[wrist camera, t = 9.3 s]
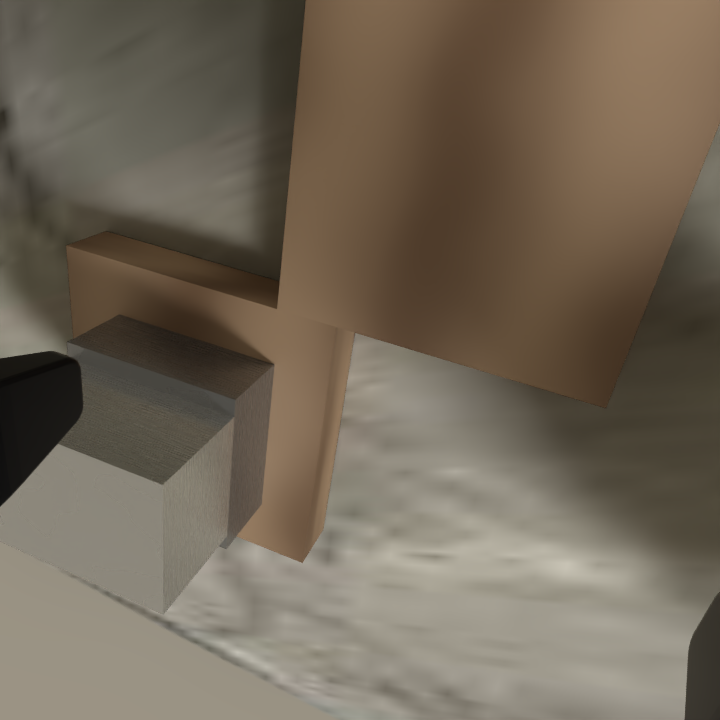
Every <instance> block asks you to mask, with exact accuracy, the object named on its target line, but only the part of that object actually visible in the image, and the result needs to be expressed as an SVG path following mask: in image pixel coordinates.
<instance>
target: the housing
mask: <svg viewBox="0 0 720 720" xmlns="http://www.w3.org/2000/svg"><path fill="white" fill-rule="evenodd" d="M67 350H68V356H70V357H72V358H74V359H76V360H77V361H78V363H79V364H80V367H81V375H82V389H83V403H84V405H83V411H82V414H81V416H80V418H79V420H78V421H77V423H76V424H75V425H74V426H73V427H72V428H71V429H70V431H69V432H68V433H67V434H66V435H65V436H64V437H63V439H62V440H61V441H60V442H59V443H58V444H57V445H56V446H55V448H54V449H53V450H52V451H51V452H50V453H49V454H48V456H47V457H46V458H45V459H44V460H43V461H42V462H41V464H40V465H39V466H38V467H37V468H36V469H35V470H34V472H33V473H32V474H31V475H30V476H29V477H28V478H27V479H26V481H25V482H24V483H23V484H22V485H21V486H20V487H19V488H18V489H17V491H16V492H15V493H14V494H13V495H12V496H11V497H10V498H9V499H8V500H7V501H6V502H5V503H4V504H3V505H2V506H1V507H0V542H2V543H4V544H7V545H9V546H11V547H13V548H16V549H18V550H20V551H22V552H24V553H27V554H29V555H31V556H33V557H36V558H38V559H40V560H42V561H45V562H47V563H49V564H51V565H53V566H56V567H58V568H60V569H62V570H65V571H67V572H69V573H71V574H74V575H76V576H78V577H80V578H82V579H85V580H87V581H89V582H91V583H94V584H96V585H98V586H100V587H103V588H105V589H107V590H109V591H111V592H114V593H116V594H118V595H120V596H123V597H125V598H127V599H129V600H132V601H134V602H136V603H138V604H140V605H143V606H145V607H147V608H149V609H152V610H154V611H156V612H158V613H161V614H163V615H164V613H165V612H166V611H167V610H168V608H169V607H170V606H171V605H172V603H173V602H174V601H175V600H176V598H177V597H178V596H179V595H180V594H181V592H182V591H183V590H184V589H185V587H186V586H187V585H188V584H189V582H190V581H191V580H192V579H193V577H194V576H195V575H196V574H197V573H198V571H199V570H200V569H201V568H202V566H203V565H204V564H205V563H206V561H207V560H208V559H209V558H210V557H211V555H212V554H213V553H214V552H215V550H216V549H217V548H218V547H219V546H220V547H222V548H225V549H227V548H228V546H229V545H230V544H231V543H232V541H233V540H234V539H235V538H236V536H237V535H238V534H239V532H240V531H241V530H242V529H243V527H244V526H245V525H246V524H247V522H248V521H249V520H250V519H251V517H252V516H253V515H254V513H255V512H256V511H257V510H258V508H259V507H260V506H261V505H262V495H263V484H264V474H265V463H266V452H267V441H268V431H269V420H270V409H271V398H272V388H273V377H274V366H275V364H272V363H269V362H266V361H263V360H260V359H257V358H254V357H251V356H248V355H245V354H241V353H238V352H235V351H232V350H229V349H226V348H223V347H220V346H217V345H214V344H210V343H207V342H204V341H201V340H198V339H195V338H192V337H189V336H186V335H183V334H179V333H176V332H173V331H170V330H167V329H164V328H161V327H158V326H155V325H152V324H149V323H145V322H142V321H139V320H136V319H133V318H130V317H127V316H124V315H121V314H119V315H117V316H115V317H113V318H111V319H110V320H108V321H106V322H104V323H102V324H100V325H98V326H96V327H94V328H93V329H91V330H89V331H87V332H85V333H83V334H81V335H79V336H77V337H76V338H74V339H72V340H70V341H68V342H67Z"/></svg>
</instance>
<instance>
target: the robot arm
mask: <svg viewBox="0 0 720 720" xmlns="http://www.w3.org/2000/svg"><path fill="white" fill-rule="evenodd" d="M83 405H84V403H83V389H82V375H81V367H80V364H79V363H78V361H77V360H76V359H74V358H72V357H70V356H67V355H64V354H61V353H58V352H54V351H47V352H40V353H33V354H27V355H20V356H14V357H7V358H0V507H1V506H2V505H3V504H4V503H5V502H6V501H7V500H8V499H9V498H10V497H11V496H12V495H13V494H14V493H15V492H16V491H17V489H18V488H19V487H20V486H21V485H22V484H23V483H24V482H25V481H26V479H27V478H28V477H29V476H30V475H31V474H32V473H33V472H34V470H35V469H36V468H37V467H38V466H39V465H40V464H41V462H42V461H43V460H44V459H45V458H46V457H47V456H48V454H49V453H50V452H51V451H52V450H53V449H54V448H55V446H56V445H57V444H58V443H59V442H60V441H61V440H62V439H63V437H64V436H65V435H66V434H67V433H68V432H69V431H70V429H71V428H72V427H73V426H74V425H75V424H76V423H77V421H78V420H79V418H80V416H81V414H82V411H83ZM685 720H720V592H719V593H718V594H717V595H716V597H715V598H714V600H713V602H712V603H711V605H710V607H709V608H708V610H707V612H706V613H705V615H704V617H703V618H702V620H701V622H700V623H699V625H698V627H697V628H696V630H695V632H694V634H693V636H692V638H691V642H690V645H689V651H688V667H687V686H686V704H685Z"/></svg>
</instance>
